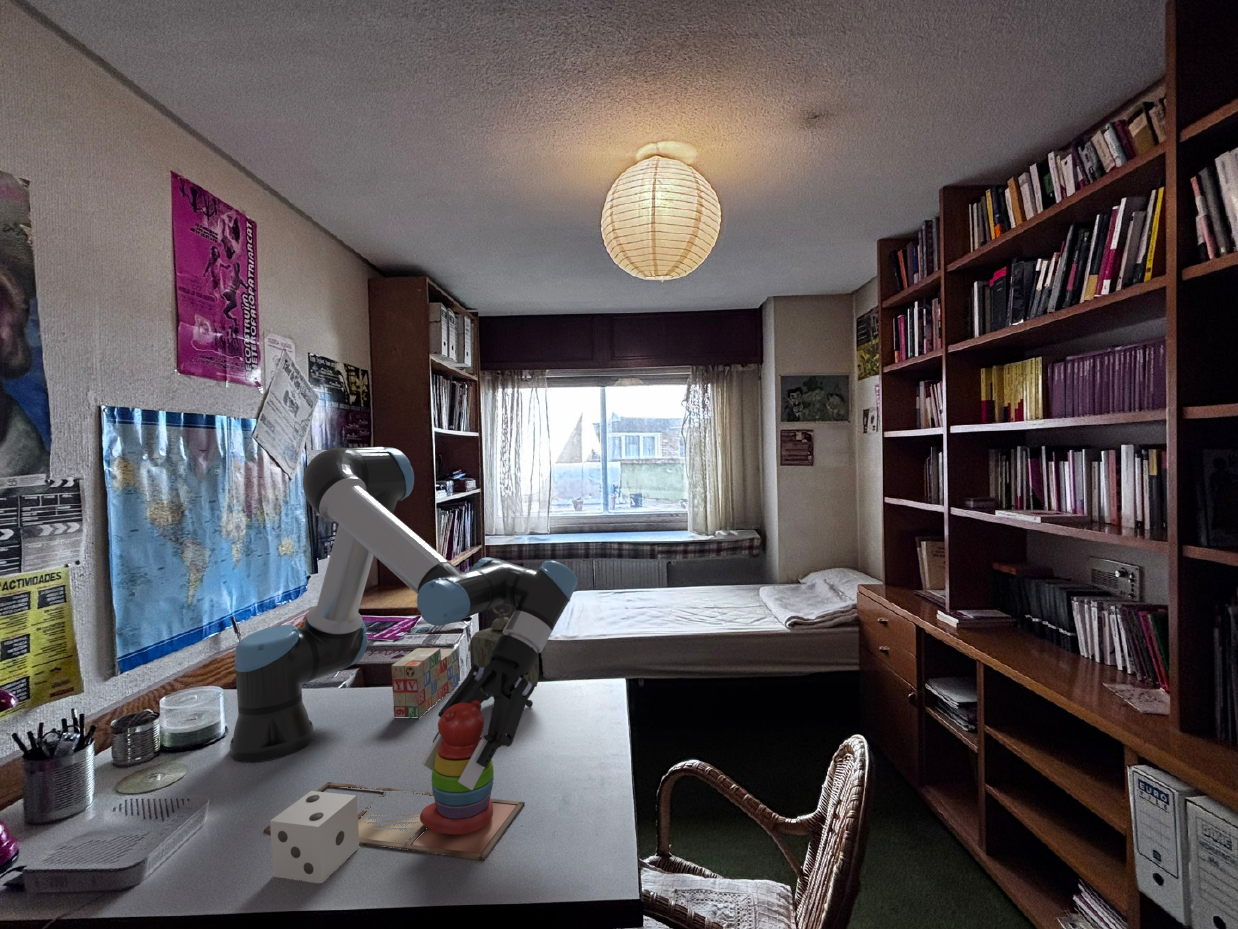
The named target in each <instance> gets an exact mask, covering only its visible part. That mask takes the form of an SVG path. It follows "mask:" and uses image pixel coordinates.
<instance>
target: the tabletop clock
mask: <svg viewBox="0 0 1238 929" xmlns="http://www.w3.org/2000/svg"><path fill="white" fill-rule="evenodd" d="M507 607H508V608H509V611H508V612H507V613H505V611H504V609H499V611H498V610H496V609H495V607H494V608H491V610H492V611H493V613H494V614H495V615H497V616H498V617H496V618H495V619H494V620H493V621H492V622H491V626H490V627H488V628H485V629H481V630H478V631H477V632H475V633H474V634H473V635H472V637H471V638H470V644H469V645H470V646H469V651H470V654H469V656H470V657H469V658H470V668H471V667H472V666H473V665H474V664H476V665H478V666H479V667H482V668H485V667H486V666H487V665H488V664H489V663H490V661H491V651H492V649H493V647H494V645H495V644H496V642H497V640H498V639H499V637H500V636H502V635H504V634H503V629H504V628H505V626H506V624H507V623H508V621H509V620H510V617H508V616H510V614H512V607H509V606H507ZM537 654H538V655H539V653H537ZM539 664H540V662H539V658H538V659H537V661H536V663H535V665H534V667H533V669H532V670H531V672H530V674H529V675H526V676H524V678H525V679H526V680H527V681H529V682H530V683H531V684H532V685H533V686H534V688H536V687H537V686H538V683H539V674H540V669H539V666H540V665H539ZM481 689H482V687H481ZM482 690H483V689H482ZM533 704H534V702H533V700H531V699H528V700H527V703H526V705H525V707H527V708H532V707H533Z"/></svg>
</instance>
